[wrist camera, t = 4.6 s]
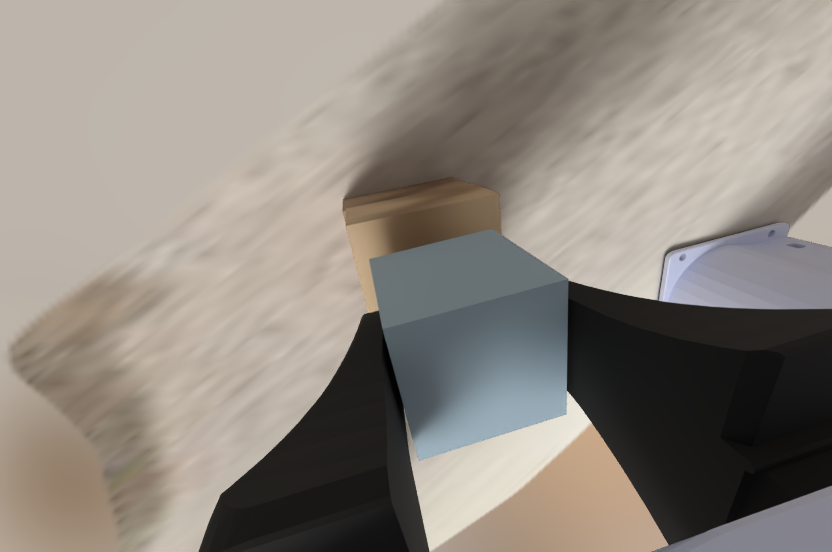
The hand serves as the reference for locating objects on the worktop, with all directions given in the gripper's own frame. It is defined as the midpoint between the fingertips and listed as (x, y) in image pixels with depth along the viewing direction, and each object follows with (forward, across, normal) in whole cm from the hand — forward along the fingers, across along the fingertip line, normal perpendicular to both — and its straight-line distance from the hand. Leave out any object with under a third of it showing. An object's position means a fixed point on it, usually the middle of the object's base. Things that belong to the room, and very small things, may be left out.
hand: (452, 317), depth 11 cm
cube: (+2, 0, 0) cm, 2 cm away
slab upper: (+6, 0, 0) cm, 6 cm away
